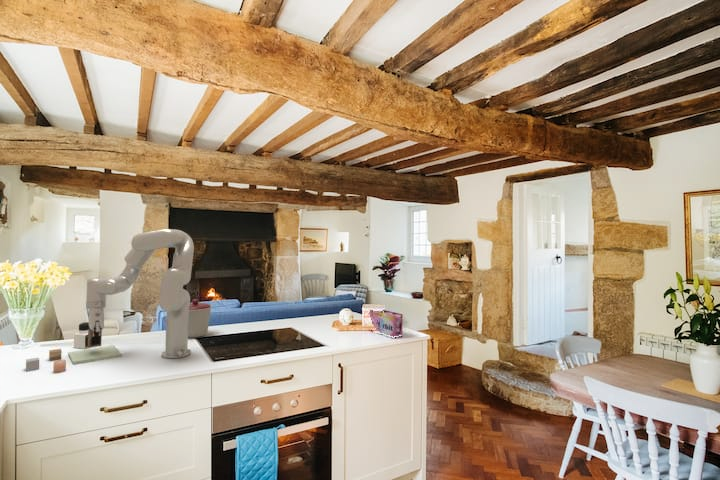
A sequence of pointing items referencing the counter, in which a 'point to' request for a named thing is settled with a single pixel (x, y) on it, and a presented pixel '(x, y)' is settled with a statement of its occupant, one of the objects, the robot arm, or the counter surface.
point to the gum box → (387, 322)
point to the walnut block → (91, 337)
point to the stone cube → (32, 364)
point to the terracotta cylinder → (59, 366)
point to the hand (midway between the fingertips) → (94, 343)
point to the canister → (198, 319)
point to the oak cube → (55, 354)
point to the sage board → (94, 354)
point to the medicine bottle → (82, 336)
